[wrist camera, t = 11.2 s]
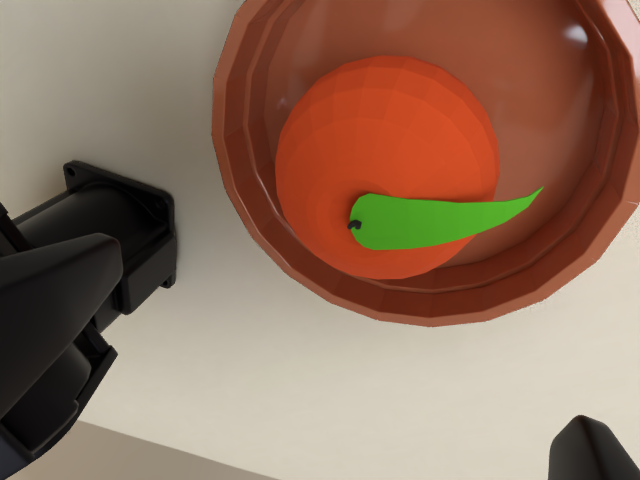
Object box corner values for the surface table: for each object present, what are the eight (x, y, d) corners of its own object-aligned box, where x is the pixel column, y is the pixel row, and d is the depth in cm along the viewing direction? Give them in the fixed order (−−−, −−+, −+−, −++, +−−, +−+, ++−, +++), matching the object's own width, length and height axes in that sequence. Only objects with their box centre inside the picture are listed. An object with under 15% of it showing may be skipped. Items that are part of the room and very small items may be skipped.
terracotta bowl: (244, 218, 22) (206, 257, 19) (275, -129, 14) (220, -152, 11) (512, 312, 20) (516, 372, 17) (732, -32, 12) (812, -30, 9)
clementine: (543, 22, 13) (584, 67, 8) (520, 219, 17) (537, 352, 11) (303, 48, 16) (200, 96, 10) (326, 213, 19) (260, 317, 14)
